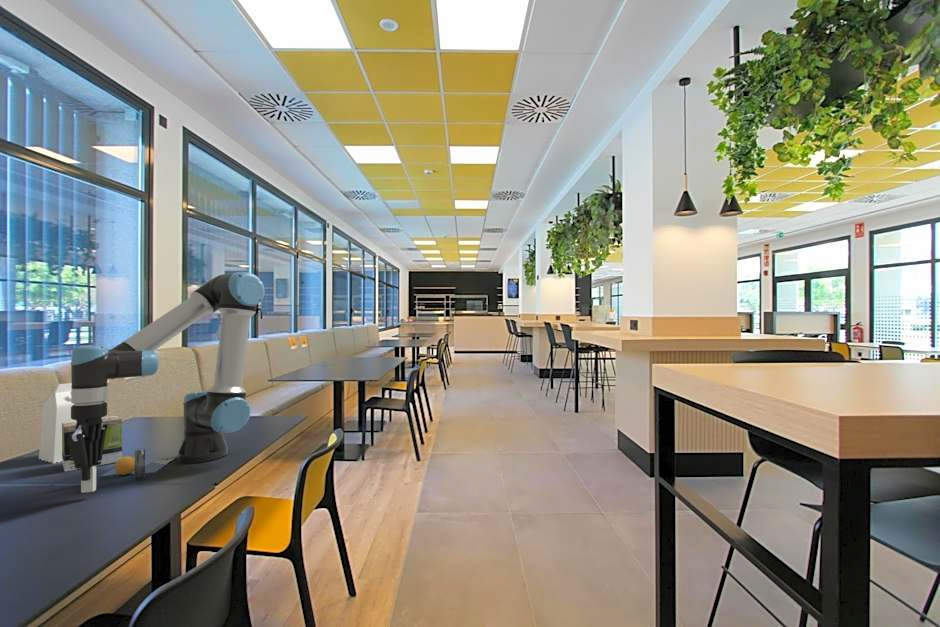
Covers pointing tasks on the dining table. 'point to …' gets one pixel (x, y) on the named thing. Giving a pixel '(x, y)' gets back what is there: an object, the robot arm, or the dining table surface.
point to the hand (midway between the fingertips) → (88, 491)
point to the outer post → (96, 473)
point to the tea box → (111, 443)
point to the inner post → (139, 464)
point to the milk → (55, 423)
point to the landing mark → (149, 468)
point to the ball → (125, 465)
